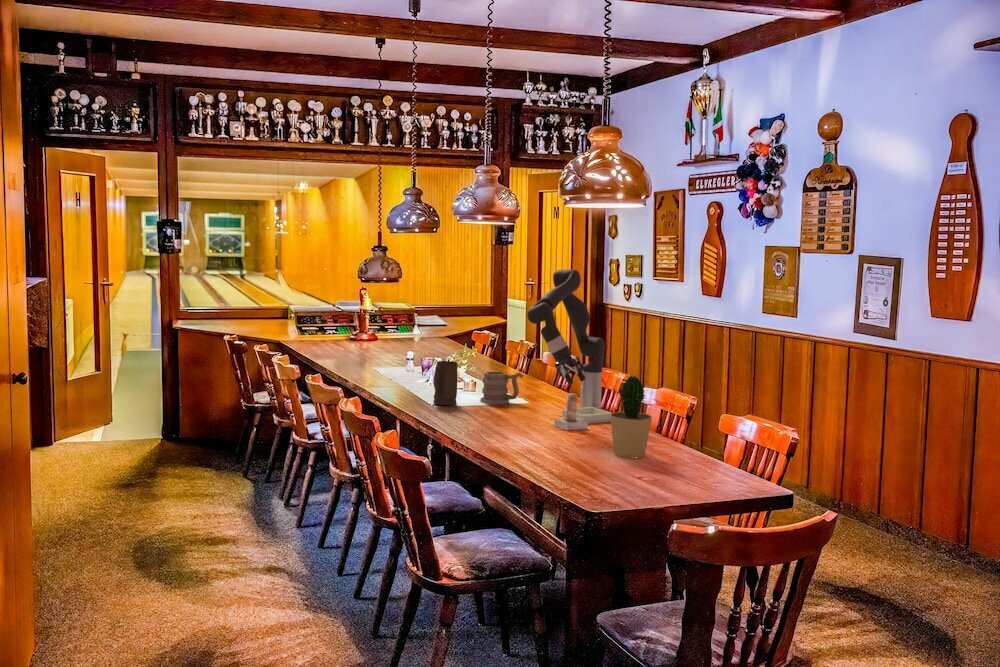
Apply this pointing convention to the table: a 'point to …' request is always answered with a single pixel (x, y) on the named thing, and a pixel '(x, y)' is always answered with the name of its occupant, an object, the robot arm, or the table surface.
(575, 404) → the maple peg
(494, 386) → the tankard
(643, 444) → the potted cactus
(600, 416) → the sage tray
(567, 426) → the peg holder
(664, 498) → the table surface
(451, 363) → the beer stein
